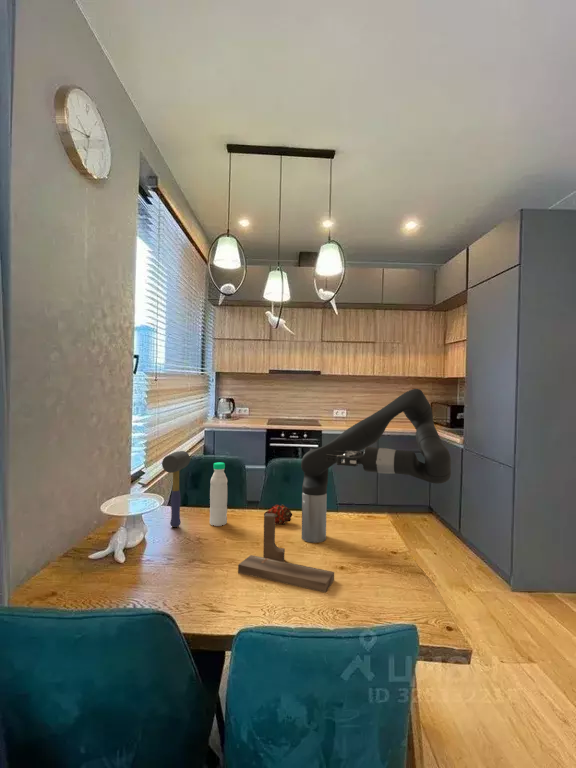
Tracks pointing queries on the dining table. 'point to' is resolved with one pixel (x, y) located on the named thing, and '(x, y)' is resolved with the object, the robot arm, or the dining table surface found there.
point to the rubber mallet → (175, 481)
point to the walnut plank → (287, 573)
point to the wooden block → (271, 539)
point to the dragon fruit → (280, 514)
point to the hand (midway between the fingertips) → (329, 455)
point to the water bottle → (218, 495)
